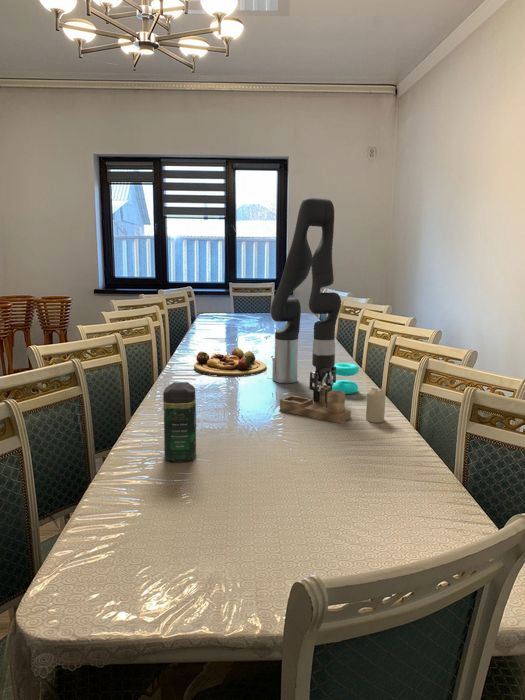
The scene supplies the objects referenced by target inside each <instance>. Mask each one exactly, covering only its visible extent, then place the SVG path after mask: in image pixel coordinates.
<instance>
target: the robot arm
mask: <svg viewBox="0 0 525 700" xmlns="http://www.w3.org/2000/svg"><path fill="white" fill-rule="evenodd" d="M297 213H298V214H297V217H296V223H295V224H296V225H295V227H294V234H293V237H292V241H291V245H290V248H289V252H288V254H287V257H286V261H285V265H284V269H283V272H282V275H281V279H280V282H279V285H278V287H277V289H276V292H275V294H274V297H273V300H272V302H271V308H270V316H271V318H272V320H273V321H274V322H278V323H279V322H280V323H281V322H284V323H285V322H286V324H285V325H284V326H283V327H281V328H279V329H278V330H276V331H275V333H274V356H273V357H272V372H271V373H272V374H271V375H272V379H271V380H272V381H275V382H276V383H280V384H292V383H297V382H298V377H299V376H298V372H299V371H298V370H299V369H298V368H299V364H298V363H299V362H298V361H299V334H300V330H301V329H300V328H301V327H300V325H301V312H302V309H301V302H300V300H299V299H298V298H297V297H290V296H291V294H292V293H294V291H295V290H296V289H297V288H298V287H300V285H301V284H302V283H304V282H305V280H306V279H308V275H309V274H310V271H311V276H312V277H311V278H312V279H311V280H312V281H311V282H312V283H311V290H310V295H309V300H308V308H309V310H310V312H311V313H312V314H314V315H327V316H326V317H325V319H322V320H318V321H315V322H314V323H313V341H312V358H311V359H312V366H313V367H314V368H315V371H310V372H309V387H308V388H309V391H310V390H311V391H312V392H313V393H312V394H313V396H312V399H313V403H314V402H320V389H321V386H323V385H326V386H330V388H331V391H332V386H333V383H336V381H337V375H336V366H334V365H335V364H336V339H335V334H336V324H337V320H338V317H339V313H340V311H341V307H342V298H341V296H340V295H339V293H337V292H331V291H330V292H329V291H328V292H321V290H322V288H327V287H330V286H332V285H333V284H334V280H335V279H334V267H333V266H334V265H333V246H334V245H333V244H334V243H333V242H334V232H335V231H334V228H335V206H334V203H333V201H331V200H330V199H328V198H327V199H326V198H319V197H318V198H316V197H305V198H304V199H303V200H302V201H301V204H300V206H299V210H298V212H297ZM310 227H319V228H321V238H320V241H319V243H318V244H317V246H316V247H317V248H316V249H315V250H314V253H312V250H311V248H310V244H309V242H308V232H309V231H308V230H309V228H310Z"/></svg>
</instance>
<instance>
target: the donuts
mask: <svg viewBox="0 0 525 700" xmlns="http://www.w3.org/2000/svg"><path fill="white" fill-rule="evenodd" d="M334 366H336V376H341V377H352V376H355V375H357V374H358V373H359V372H360V368H359V366H358V365H357V364H354V363H349V362H339V363H335V365H334ZM332 390H337V391H342V392H345V395H350V394H351V395H352V394H355V393H357V392H358V391H359V386H358V384H357V383H356V382H354V381H352V380H346V379H343V380H342V379H340V380H336V383H333V386H332Z"/></svg>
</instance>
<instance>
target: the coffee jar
mask: <svg viewBox="0 0 525 700" xmlns="http://www.w3.org/2000/svg"><path fill="white" fill-rule="evenodd" d="M162 395H163V396H162V397H163V400H162V401H163V403H162V404H163V433H164V435H163V436H164V437H163V439H164V440H163V442H164V443H163V446H164V447H163V449H164V458H165V460H167V461H171V462H174V463H175V462H176V463H182V462H186V461H191V460H193V459H194V458H195V456H196V454H197V405H196V404H197V403H196V401H197V400H196V399H197V398H196V387H195V386H194V385H192V384H191V383H190V382H188V381H179V382H178V381H174V382H172V383H171V384H169V385H167V386H166V387H165V388H164V391H163V393H162Z"/></svg>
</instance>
